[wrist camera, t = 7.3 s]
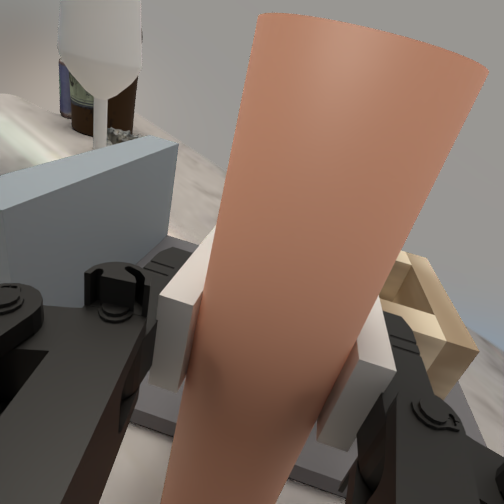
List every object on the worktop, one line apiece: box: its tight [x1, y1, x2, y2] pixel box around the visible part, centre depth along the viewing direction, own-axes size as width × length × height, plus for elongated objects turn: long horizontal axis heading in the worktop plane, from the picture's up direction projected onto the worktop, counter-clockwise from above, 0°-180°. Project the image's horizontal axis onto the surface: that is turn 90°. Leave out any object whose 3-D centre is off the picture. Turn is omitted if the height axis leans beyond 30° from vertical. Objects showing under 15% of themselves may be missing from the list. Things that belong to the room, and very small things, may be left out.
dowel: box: [160, 13, 489, 504], centre depth 9 cm, size 4×4×16 cm
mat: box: [130, 236, 487, 498], centre depth 22 cm, size 26×16×1 cm, turn 78°
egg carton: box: [106, 127, 143, 147], centre depth 48 cm, size 11×8×4 cm
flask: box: [59, 58, 71, 118], centre depth 62 cm, size 9×3×11 cm, turn 24°
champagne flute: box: [57, 0, 142, 150], centre depth 30 cm, size 7×7×24 cm
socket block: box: [379, 251, 480, 400], centre depth 20 cm, size 12×9×6 cm
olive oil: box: [69, 28, 142, 136], centre depth 53 cm, size 11×11×25 cm
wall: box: [0, 135, 179, 308], centre depth 21 cm, size 2×16×8 cm, turn 168°
